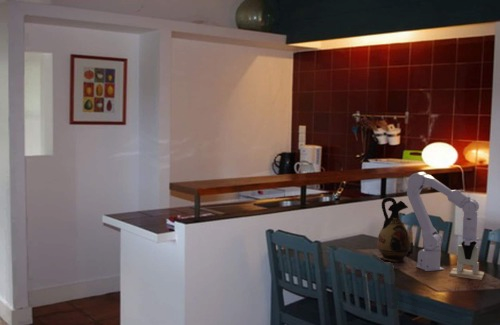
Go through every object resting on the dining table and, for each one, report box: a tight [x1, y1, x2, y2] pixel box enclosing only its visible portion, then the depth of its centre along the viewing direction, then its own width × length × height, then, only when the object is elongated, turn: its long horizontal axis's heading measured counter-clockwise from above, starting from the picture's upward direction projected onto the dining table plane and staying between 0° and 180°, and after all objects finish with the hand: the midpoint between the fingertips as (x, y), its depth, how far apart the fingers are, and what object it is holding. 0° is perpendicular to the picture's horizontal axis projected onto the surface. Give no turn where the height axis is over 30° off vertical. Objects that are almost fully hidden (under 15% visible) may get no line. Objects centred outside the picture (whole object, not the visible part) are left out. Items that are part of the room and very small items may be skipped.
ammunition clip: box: [407, 228, 414, 253], centre depth 292 cm, size 11×2×12 cm, turn 101°
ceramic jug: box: [376, 196, 411, 263], centre depth 277 cm, size 17×15×30 cm
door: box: [456, 244, 479, 267], centre depth 255 cm, size 3×8×8 cm, turn 63°
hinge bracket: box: [449, 262, 485, 281], centre depth 253 cm, size 10×13×5 cm
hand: (468, 258), depth 254 cm, fingers closed on door, 2 cm apart
